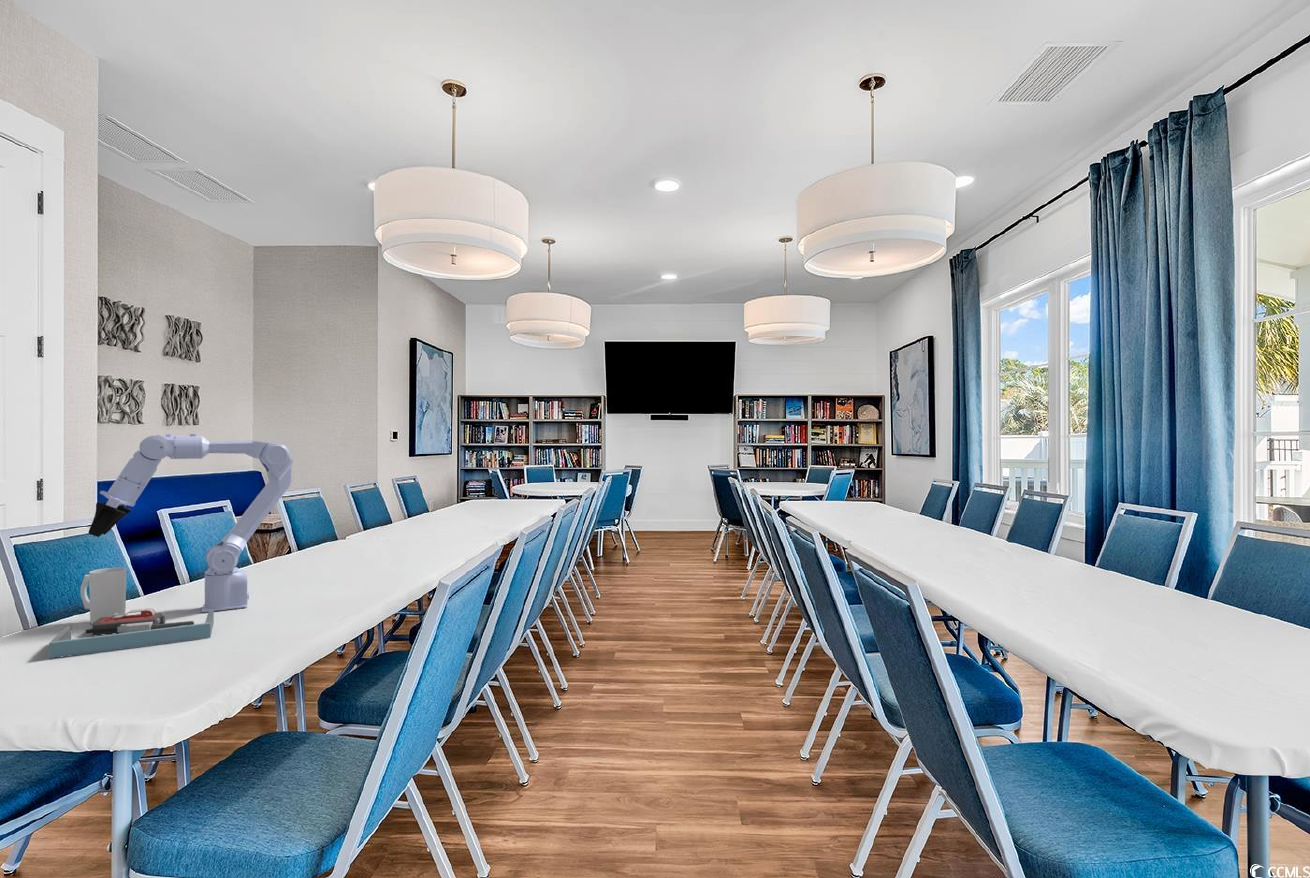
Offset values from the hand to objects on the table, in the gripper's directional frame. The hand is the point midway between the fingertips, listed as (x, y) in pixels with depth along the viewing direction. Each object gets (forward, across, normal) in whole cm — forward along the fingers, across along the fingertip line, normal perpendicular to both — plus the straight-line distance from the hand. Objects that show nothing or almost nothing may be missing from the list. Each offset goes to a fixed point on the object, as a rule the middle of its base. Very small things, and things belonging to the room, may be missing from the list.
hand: (96, 534), depth 151 cm
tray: (+15, +19, +19) cm, 30 cm away
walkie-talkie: (+15, +10, +19) cm, 26 cm away
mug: (+18, -4, +10) cm, 21 cm away
